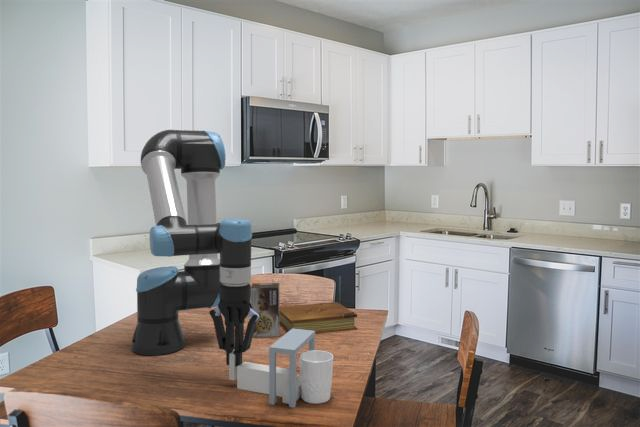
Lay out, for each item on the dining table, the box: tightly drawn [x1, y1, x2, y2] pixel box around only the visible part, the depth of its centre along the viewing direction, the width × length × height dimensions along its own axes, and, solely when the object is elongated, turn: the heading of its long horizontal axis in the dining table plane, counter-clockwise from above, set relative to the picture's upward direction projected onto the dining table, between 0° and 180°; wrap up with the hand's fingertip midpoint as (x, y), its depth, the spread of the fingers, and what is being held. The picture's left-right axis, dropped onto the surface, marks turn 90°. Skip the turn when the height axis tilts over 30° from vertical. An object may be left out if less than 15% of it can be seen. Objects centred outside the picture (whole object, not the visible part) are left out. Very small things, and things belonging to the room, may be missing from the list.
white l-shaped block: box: [236, 361, 302, 405], centre depth 128 cm, size 16×9×6 cm, turn 68°
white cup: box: [298, 349, 334, 405], centre depth 124 cm, size 8×8×10 cm
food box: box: [250, 282, 281, 338], centre depth 171 cm, size 9×6×16 cm
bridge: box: [268, 328, 316, 409], centre depth 126 cm, size 6×15×13 cm, turn 163°
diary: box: [280, 301, 358, 335], centre depth 183 cm, size 23×19×6 cm
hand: (234, 378), depth 131 cm, fingers closed
